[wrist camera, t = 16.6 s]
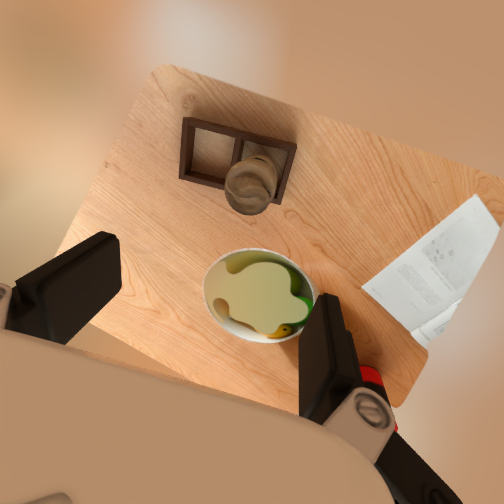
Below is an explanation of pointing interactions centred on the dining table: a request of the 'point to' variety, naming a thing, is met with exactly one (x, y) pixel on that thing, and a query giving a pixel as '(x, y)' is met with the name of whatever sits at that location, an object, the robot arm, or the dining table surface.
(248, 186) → the light bulb
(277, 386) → the dining table surface
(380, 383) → the soda can
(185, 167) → the socket block
